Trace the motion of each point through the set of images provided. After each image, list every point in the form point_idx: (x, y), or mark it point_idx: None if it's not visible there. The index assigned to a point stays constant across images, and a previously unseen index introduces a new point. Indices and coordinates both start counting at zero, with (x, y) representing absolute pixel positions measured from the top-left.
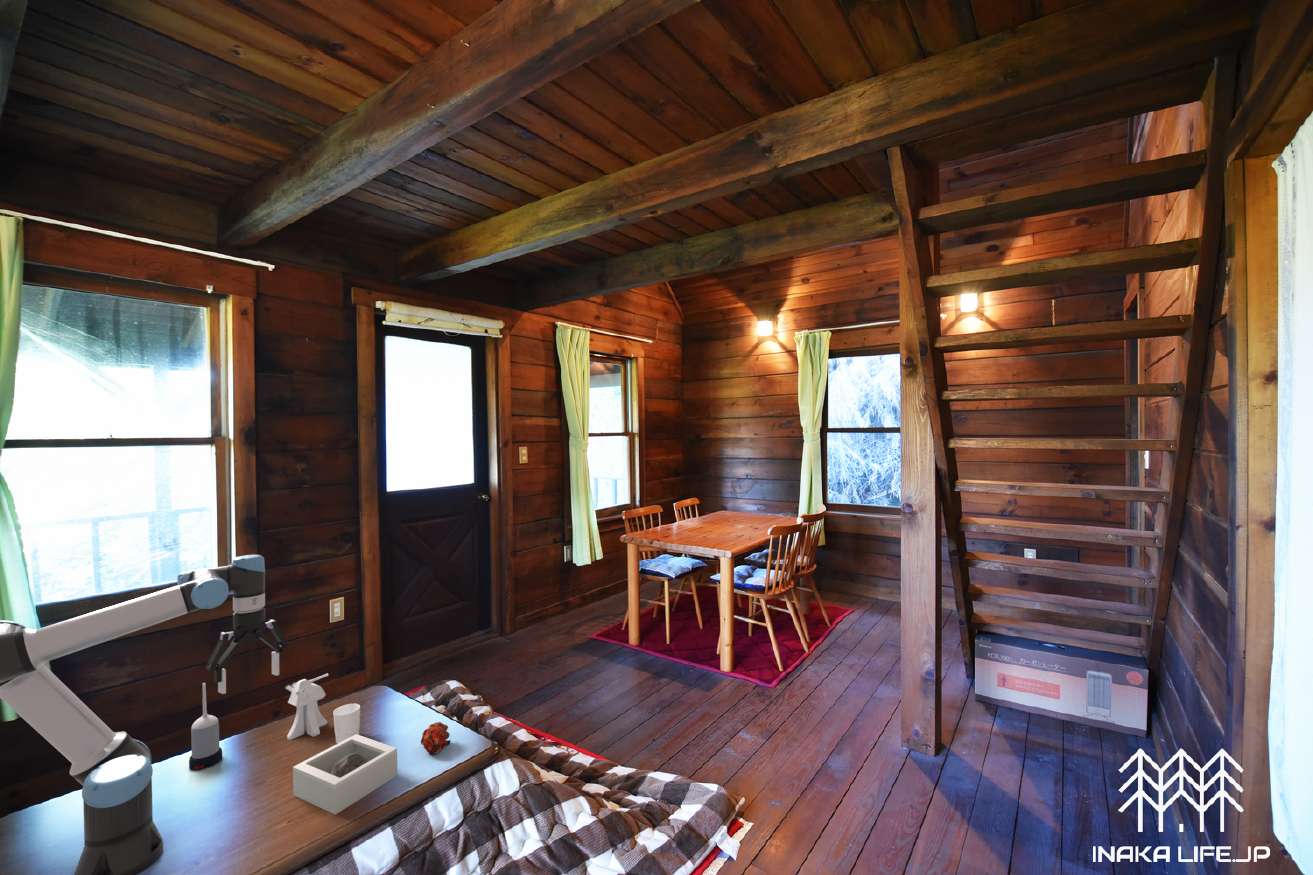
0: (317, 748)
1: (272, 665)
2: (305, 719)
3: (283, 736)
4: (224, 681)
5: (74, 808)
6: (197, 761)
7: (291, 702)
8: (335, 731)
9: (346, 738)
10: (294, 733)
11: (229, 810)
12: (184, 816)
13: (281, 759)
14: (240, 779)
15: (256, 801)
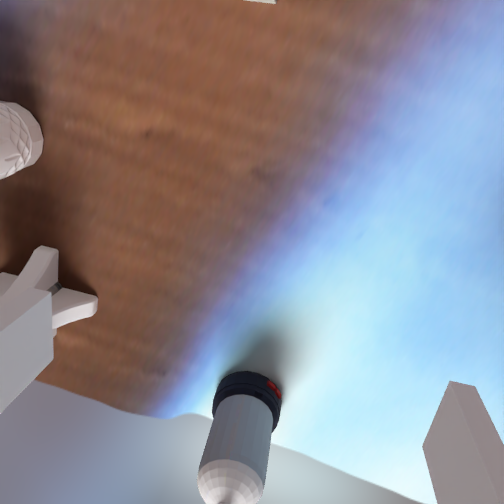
0: (87, 179)
1: (2, 399)
2: None
3: (96, 327)
4: (502, 474)
5: None
6: (274, 403)
7: None
8: (22, 154)
9: (19, 112)
10: (80, 299)
11: (385, 134)
12: (433, 232)
13: (166, 230)
14: (270, 249)
15: (332, 96)
